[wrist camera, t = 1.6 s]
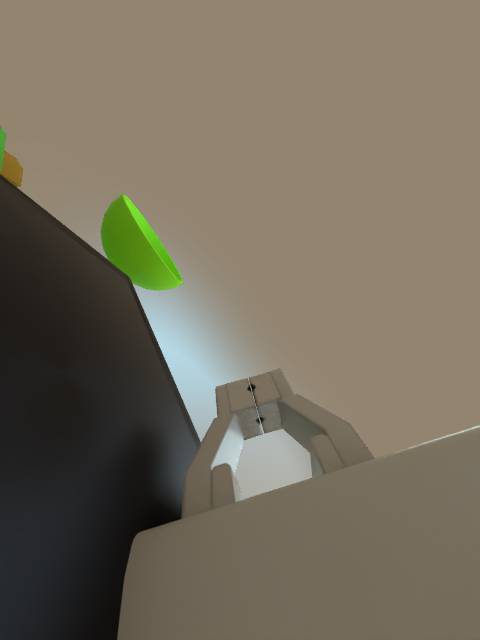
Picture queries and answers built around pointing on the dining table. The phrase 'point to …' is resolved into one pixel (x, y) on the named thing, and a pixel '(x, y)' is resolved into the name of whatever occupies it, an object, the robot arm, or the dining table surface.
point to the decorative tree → (9, 164)
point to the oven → (77, 429)
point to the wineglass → (137, 247)
